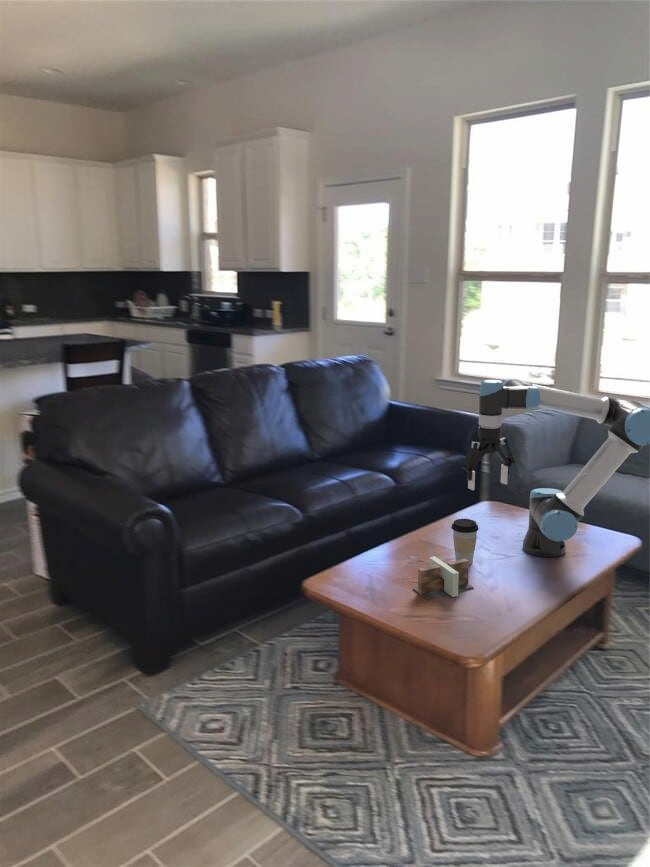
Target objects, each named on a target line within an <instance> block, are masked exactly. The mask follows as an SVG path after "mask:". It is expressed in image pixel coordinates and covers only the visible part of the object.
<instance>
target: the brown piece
mask: <svg viewBox="0 0 650 867" xmlns="http://www.w3.org/2000/svg"><path fill="white" fill-rule="evenodd" d="M446 564H447V565H448V566H450V567H451V568H453V569H454V570H456V571H457V572H458V573H459V577H458V593H461V592H466V591H470V590H473V589H474V586H473V585H471V584H470V583H469V573H470V572H469V571H470V570H469V569H470V567H469V566H470V565H469V561H468V560H467V559H461V560H456V559H455V560H452V561H448V562H447V563H446ZM417 572H418V573H417V586H416V587H413V589H412V590H413V591H414V592H416V594H418V595H419V596H421V597H422V598H423V599H424V600H426V601H427V600H431V599H435V598H440V597H444V596H447V595H449V594H448V593H447V592H445V591H444V579H443V578H442V577H440V566H438V565H433V566H424V567H420V568H418V569H417ZM449 596H450V595H449Z"/></svg>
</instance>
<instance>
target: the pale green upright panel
mask: <svg viewBox="0 0 650 867" xmlns="http://www.w3.org/2000/svg"><path fill="white" fill-rule="evenodd" d="M428 561H429V563H428V564H429V566H433V565H438V566H440V577H442V578H443V579H444V591H445V592H447V593H448V594H449V596H450V597H452V598H454V597H458V596H459V592H458V577H459V573H458V572H457V571H456V570H454V569H453V568H451V567H450V566H448V565H447V563H445V562H444V561H442V560H441V559H439V558H438V557H437V556H430V557H429V560H428Z"/></svg>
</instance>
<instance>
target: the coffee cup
mask: <svg viewBox="0 0 650 867" xmlns="http://www.w3.org/2000/svg"><path fill="white" fill-rule="evenodd" d="M450 528H451V529H452V530H453V531H452V532H453V535H452V537H453V549H454V556H455V561H456V560H461V559H467V560H468V561H469V566H471V565H472V564H473V561H474V555H475V550H476V544H477V537H478V535H477V533H478V531H479V525H478V524H477V522H476V521H475V520H473V519H470V518H457V519H455V520H454V521H453V523H451V526H450Z"/></svg>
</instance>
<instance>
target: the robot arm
mask: <svg viewBox="0 0 650 867" xmlns="http://www.w3.org/2000/svg"><path fill="white" fill-rule="evenodd" d="M478 395H479V399H478V402H479V403H478V407H479V408H478V425H479V426H478V428H477V429H478V433H477V434H478V435H477V436H478V441H472V440H471V441H470V445H469V448H468V451H467V454H466V456H465V459H464V461H463V463H462V465H461V469H463V470H465V471H466V480H467V488H468V489H469V490H471V491H475V487H476V486H475V485H476V482H475V480H476V471H475V469H476V467H477V466H478V464H479V463H480V462H481V459H482V458H483V457H485V455H486V454H487V455H489V454H494V453H495V454H496V456H497V457H498V458H499V460H500V461H501V462H502V463H503V464H500V465H501V466H500V483H501V484H502V485H508V476H509V475H510V467H512V466H513V464H515V462H516V461H515V457H514V456H513V453H512V451H511V449H510V445H509V438H506V437H503V436H502V427H501V426H502V424H503V422H502V421H503V409H504V410H532V409H534V410H535V409H537V408H541V409H546V410H551V411H556V412H560V413H565V414H568V415H573V416H578V417H581V418H586V419H592V420H595V421H596V422H597V423H598V424H600V425H603V426H607V427H610V428H609V429H608V430H607V433H608V437H607V439H606V440H605V441H604V442H603V444H601V445H600V447H599V449H597V450H596V452H595V453H594V454H593V456H591V458H590V459H589V460H588V462H587V463H586V464H584V466H583V467H582V469H581V470H580V471H579V472H578V473H577V475H575V477H574V478H573V480H571V482H570V483H569V484H568V485H567V486H566V488H565V489H564V490H560V489H557V488H549V487H547V488H546V487H545V488H542V487H541V488H535V489H532V490H530V495H529V507H528V508H529V510H528V512H529V514H528V528H527V530H526V534H525V535H524V538H523V540H522V549H523V551H525V552H526V553H527V554H530V555H531V556H536V557H541V558H556V557H560V556H563V555H565V553H566V542H565V541H568V540H570V539H571V538H573V537H574V536H575V534H577V530H578V526H579V524H578V523H579V522H580V520H582V518H583V517H584V515H585V512H584V511H585V510H584V509H585V507H586V506H587V505H588V504H589V503H590V501H591V500H592V499H593V498H594V497H595V496H596V494H597V493H598V492H599V491H600V490H601V489H602V487H603V486H604V485H605V484H606V483H607V482H608V480H609V479H611V477H612V475H614V473H615V472H616V471H617V470H618V468H620V466H621V465H622V464H623V463H624V461H626V460H627V459H628V457H629V456H630V455H631V454H635V453H638V452H640V451H641V450H642V448H643V447H644V446H647V445H650V408H649V407H648V406H646V405H643V404H642V403H640V402H638V401H634V400H629V399H621V398H615V397H609V396H604V397H602V398H599V397H595V396H591V395H586V394H583V393H582V394H581V393H577V392H572V391H568V390H562V389H558V388H552V387H551V386H550V387H549V386H544V385H539V384H536V383H529V382H526V381H521V380H520V379H517V378H509V379H507V380H505V381H504V382H503V381H502V380H499V379H484V380H483V381H481V382H480V386H479V394H478ZM500 445H501V448H502V449H501V448H500ZM502 450H503V451H502Z"/></svg>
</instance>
